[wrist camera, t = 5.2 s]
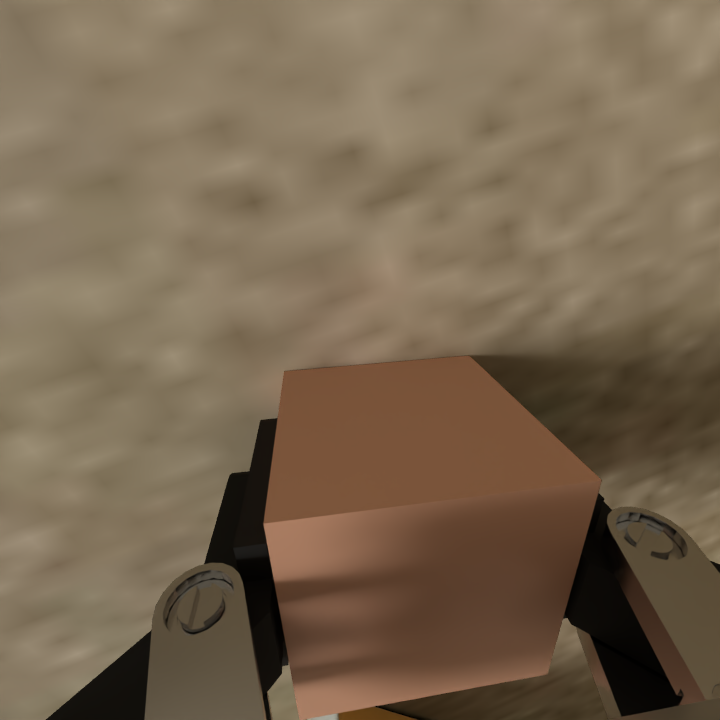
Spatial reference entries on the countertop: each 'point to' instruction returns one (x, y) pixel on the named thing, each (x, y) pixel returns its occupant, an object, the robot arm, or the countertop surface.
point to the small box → (364, 715)
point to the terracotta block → (418, 532)
